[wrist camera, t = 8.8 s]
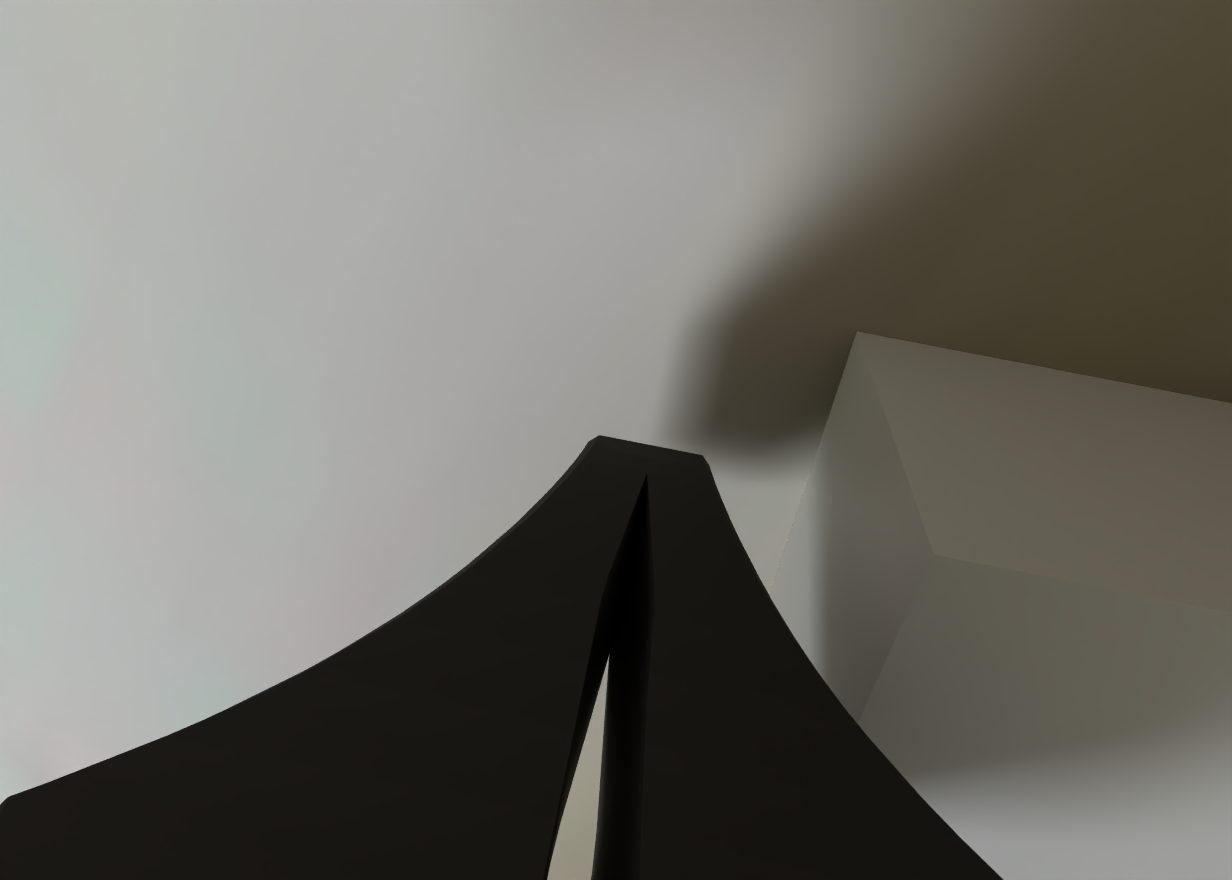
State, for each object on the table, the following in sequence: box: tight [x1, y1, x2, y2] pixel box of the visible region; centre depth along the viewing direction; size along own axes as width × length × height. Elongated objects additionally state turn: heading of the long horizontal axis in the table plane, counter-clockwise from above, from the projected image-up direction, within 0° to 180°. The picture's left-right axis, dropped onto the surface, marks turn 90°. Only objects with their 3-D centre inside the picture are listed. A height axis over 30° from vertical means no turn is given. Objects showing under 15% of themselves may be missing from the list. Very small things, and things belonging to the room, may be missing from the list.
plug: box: [769, 331, 1232, 880], centre depth 9 cm, size 4×6×4 cm
